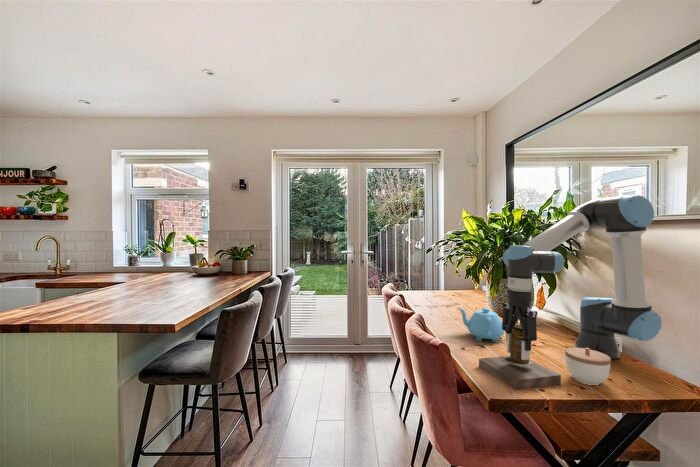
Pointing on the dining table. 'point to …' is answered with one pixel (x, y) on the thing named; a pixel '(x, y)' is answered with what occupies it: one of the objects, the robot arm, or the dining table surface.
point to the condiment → (517, 348)
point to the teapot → (484, 324)
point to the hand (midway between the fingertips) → (517, 355)
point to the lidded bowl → (587, 365)
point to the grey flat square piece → (519, 373)
